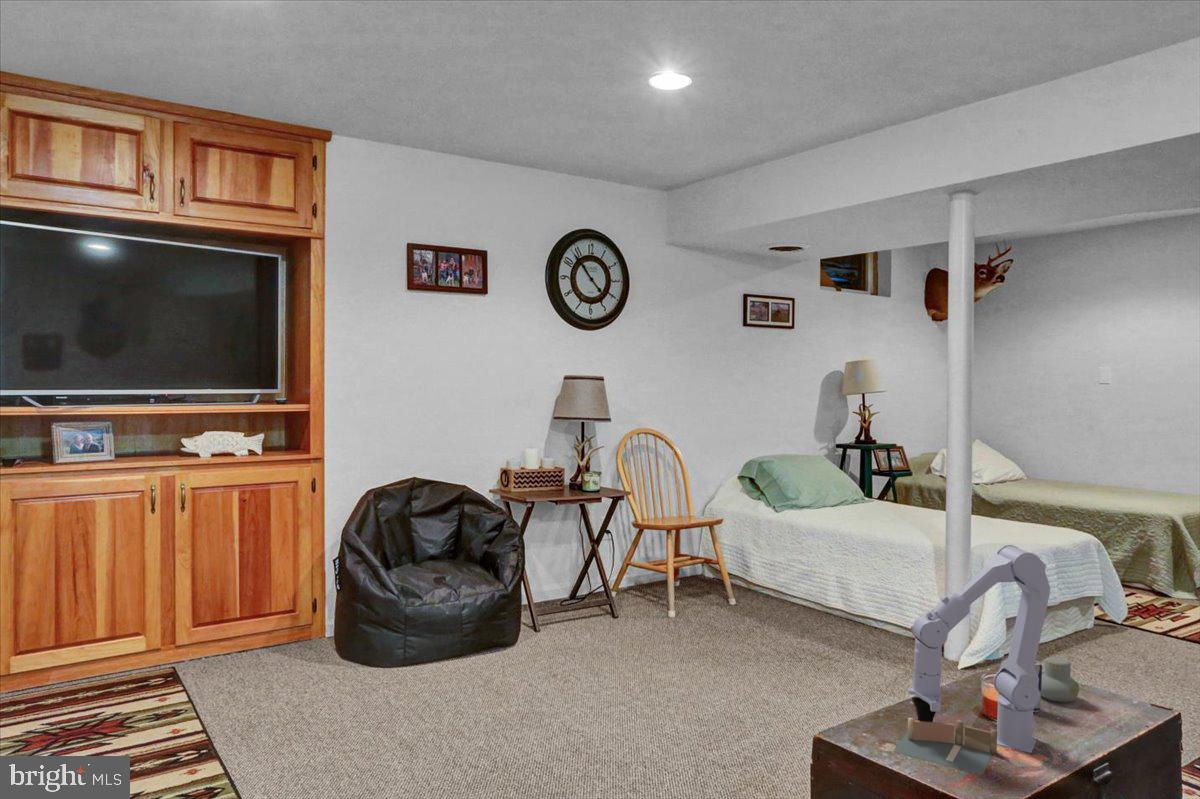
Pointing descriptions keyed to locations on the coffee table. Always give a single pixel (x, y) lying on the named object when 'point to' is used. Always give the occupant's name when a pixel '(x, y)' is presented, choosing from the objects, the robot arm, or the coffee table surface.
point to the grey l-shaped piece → (1058, 681)
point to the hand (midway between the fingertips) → (924, 731)
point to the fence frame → (976, 738)
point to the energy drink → (1039, 672)
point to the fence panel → (930, 731)
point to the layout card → (945, 754)
